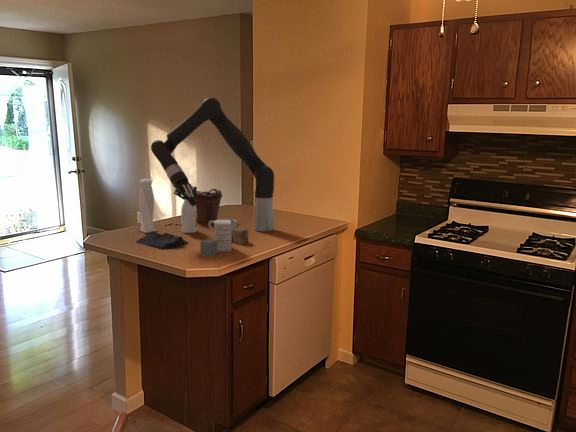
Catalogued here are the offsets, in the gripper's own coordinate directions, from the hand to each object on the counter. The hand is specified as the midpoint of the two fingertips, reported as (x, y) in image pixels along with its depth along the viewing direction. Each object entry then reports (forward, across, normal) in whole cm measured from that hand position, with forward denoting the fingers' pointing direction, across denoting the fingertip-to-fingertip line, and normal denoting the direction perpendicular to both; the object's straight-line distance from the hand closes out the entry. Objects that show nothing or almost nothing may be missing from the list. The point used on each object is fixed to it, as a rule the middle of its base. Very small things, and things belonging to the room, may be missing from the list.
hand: (194, 204), depth 229 cm
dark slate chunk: (+6, -12, +19) cm, 23 cm away
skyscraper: (-10, -3, +35) cm, 37 cm away
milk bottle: (0, +11, +25) cm, 27 cm away
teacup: (+14, +16, +11) cm, 24 cm away
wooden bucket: (-10, +35, +35) cm, 51 cm away
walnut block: (+24, +14, +1) cm, 27 cm away
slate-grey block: (+27, -10, -2) cm, 29 cm away
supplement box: (+26, 0, -1) cm, 26 cm away
